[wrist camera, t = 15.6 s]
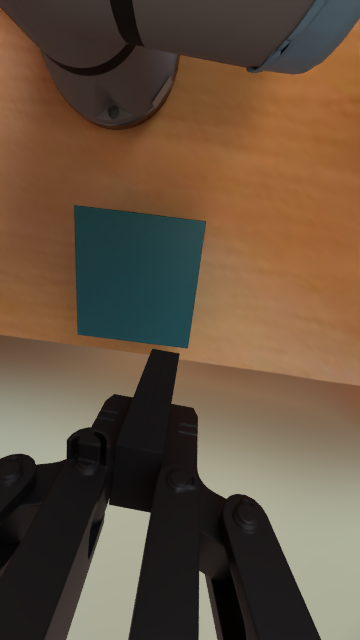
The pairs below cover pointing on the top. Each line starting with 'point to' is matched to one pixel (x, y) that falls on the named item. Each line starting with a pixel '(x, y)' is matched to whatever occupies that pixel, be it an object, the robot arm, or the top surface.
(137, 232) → the teal box lid
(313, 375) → the top surface
